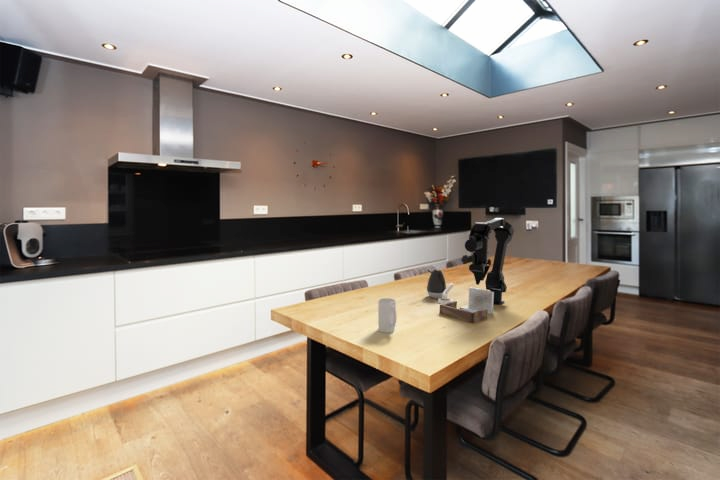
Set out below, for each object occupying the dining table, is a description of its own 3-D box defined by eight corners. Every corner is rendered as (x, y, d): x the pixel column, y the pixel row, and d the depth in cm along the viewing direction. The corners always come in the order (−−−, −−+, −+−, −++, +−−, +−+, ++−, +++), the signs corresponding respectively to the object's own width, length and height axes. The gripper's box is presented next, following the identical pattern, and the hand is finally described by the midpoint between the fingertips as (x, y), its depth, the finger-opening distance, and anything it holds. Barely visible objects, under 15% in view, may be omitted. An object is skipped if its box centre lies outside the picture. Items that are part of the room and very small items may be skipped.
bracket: (470, 307, 179) (471, 287, 178) (492, 313, 169) (493, 291, 168) (459, 310, 173) (460, 289, 172) (482, 316, 164) (483, 294, 163)
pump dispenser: (431, 293, 204) (431, 266, 202) (449, 296, 198) (450, 268, 196) (422, 297, 195) (423, 269, 194) (441, 300, 189) (442, 271, 188)
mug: (374, 328, 147) (375, 299, 146) (389, 326, 150) (389, 297, 149) (387, 337, 138) (388, 305, 137) (402, 334, 141) (403, 303, 140)
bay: (454, 309, 175) (454, 300, 175) (487, 318, 162) (487, 309, 161) (439, 313, 168) (439, 304, 168) (472, 323, 155) (473, 314, 154)
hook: (464, 294, 182) (454, 287, 181) (449, 312, 185) (438, 305, 183) (459, 287, 189) (449, 280, 188) (444, 305, 192) (434, 298, 190)
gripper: (468, 245, 183) (467, 276, 185) (458, 251, 167) (457, 284, 169) (491, 247, 178) (490, 279, 180) (483, 252, 162) (482, 287, 164)
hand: (479, 282), depth 173 cm, fingers open, 9 cm apart
